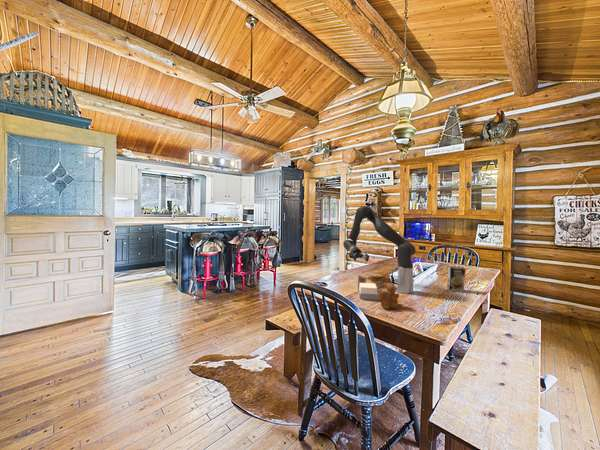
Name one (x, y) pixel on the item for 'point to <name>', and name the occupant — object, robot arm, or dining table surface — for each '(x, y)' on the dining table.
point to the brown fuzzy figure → (389, 297)
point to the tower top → (368, 288)
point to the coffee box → (456, 279)
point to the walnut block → (361, 280)
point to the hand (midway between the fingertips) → (361, 259)
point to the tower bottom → (368, 296)
